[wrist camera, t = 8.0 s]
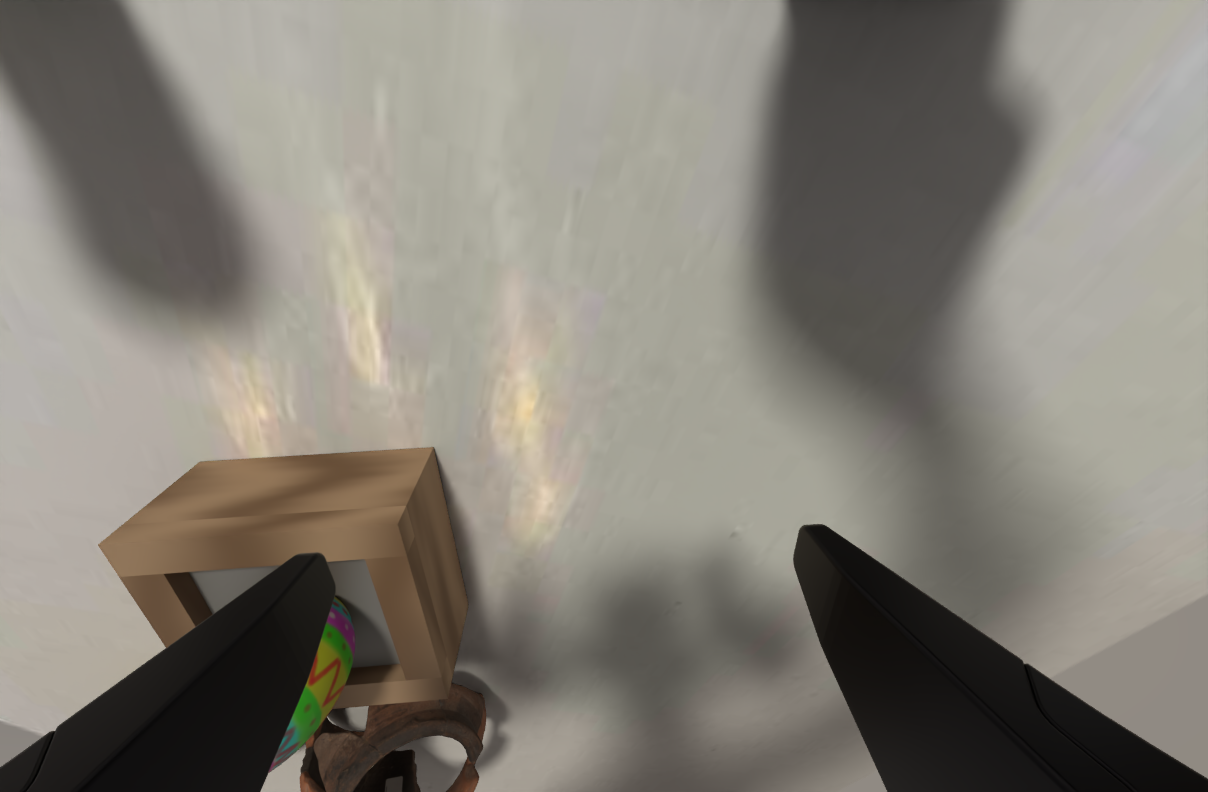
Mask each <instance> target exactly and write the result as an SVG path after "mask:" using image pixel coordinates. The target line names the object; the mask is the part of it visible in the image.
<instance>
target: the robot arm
mask: <svg viewBox="0 0 1208 792" xmlns="http://www.w3.org/2000/svg"><path fill="white" fill-rule="evenodd" d="M793 562H794V568H795V571H796V574H797V577H798V580H799V583H800V586H801V589H802V592H803V595H804V598H805V601H806V603H807V606H808V609H809V612H810V615H811V618H812V621H813V624H814V627H815V630H816V633H817V636H818V638H819V641H820V644H821V647H822V649H823V651H824V654H825V656H826V658H827V660H828V663H829V665H830V667H831V669H832V671H833V674H834V676H835V678H836V680H837V682H838V685H839V687H840V689H841V691H842V693H843V696H844V698H845V700H846V702H847V704H848V706H849V709H850V711H851V713H852V715H853V717H854V720H855V722H856V724H857V726H858V728H859V731H860V733H861V735H862V737H863V739H864V741H865V744H866V746H867V748H868V750H869V752H870V755H871V757H872V759H873V761H874V763H875V766H876V768H877V770H878V772H879V774H880V776H881V778H882V781H883V783H884V785H885V787H886V790H887V792H1208V779H1207V778H1206V777H1204V776H1202V775H1201V774H1199V773H1197V772H1196V771H1194V770H1193V769H1191V768H1189V767H1187V766H1186V765H1184V764H1183V763H1181V762H1179V761H1178V760H1176V759H1174V758H1173V757H1171V756H1169V755H1168V754H1166V753H1165V752H1163V751H1161V750H1160V749H1158V748H1156V747H1155V746H1153V745H1151V744H1150V743H1148V742H1147V741H1145V740H1143V739H1142V738H1140V737H1139V736H1137V735H1136V734H1134V733H1133V732H1131V731H1129V730H1128V729H1126V728H1125V727H1123V726H1121V725H1120V724H1118V723H1117V722H1115V721H1113V720H1112V719H1110V718H1108V717H1107V716H1105V715H1104V714H1102V713H1101V712H1099V711H1098V710H1096V709H1095V708H1093V707H1092V706H1090V705H1088V704H1087V703H1086V702H1084V701H1083V700H1081V699H1080V698H1078V697H1077V696H1075V695H1073V694H1072V693H1070V692H1069V691H1067V690H1066V689H1064V688H1063V687H1061V686H1060V685H1058V684H1057V683H1055V682H1054V681H1052V680H1051V679H1050V678H1048V677H1047V676H1045V675H1044V674H1042V673H1041V672H1039V671H1038V670H1036V669H1035V668H1033V667H1032V666H1031V665H1029V664H1024V663H1023V661H1022V660H1021V659H1020V658H1019V657H1017V656H1016V655H1014V654H1013V653H1011V652H1010V651H1008V650H1007V649H1005V648H1004V647H1003V646H1001V645H1000V644H998V643H997V642H995V641H994V640H992V639H991V638H989V637H988V636H986V635H985V634H984V633H982V632H981V631H979V630H978V629H976V628H975V627H973V626H972V625H970V624H969V623H967V622H966V621H965V620H963V619H962V618H960V617H959V616H957V615H956V614H954V613H953V612H951V611H950V610H948V609H947V608H946V607H944V606H943V605H941V604H940V603H938V602H937V601H935V600H934V599H932V598H931V597H929V596H928V595H927V594H925V593H924V592H922V591H921V590H919V589H918V588H916V587H915V586H913V585H912V584H910V583H909V582H908V581H906V580H905V579H903V578H902V577H900V576H899V575H897V574H896V573H894V572H893V571H891V570H890V569H889V568H887V567H886V566H884V565H883V564H881V563H880V562H878V561H877V560H875V559H874V558H872V557H871V556H869V555H868V554H867V553H865V552H864V551H862V550H861V549H859V548H858V547H856V546H855V545H853V544H852V543H850V542H849V541H848V540H846V539H845V538H843V537H842V536H840V535H839V534H837V533H836V532H834V531H833V530H831V529H830V528H829V527H827V526H825V525H823V524H813V525H803V526H802V527H801V528H800V530H799V533H798V538H797V542H796V547H795V551H794V556H793ZM335 593H336V584H335V581H334V578H333V576H332V573H331V571H330V568H329V566H328V563H327V561H326V558H325V556H324V555H323V554H322V553H319V552H313V553H300V554H297V555H295V556H293V557H292V558H290V559H289V560H287V561H286V562H285V563H283V564H282V565H280V566H279V567H278V568H276V569H275V570H274V571H272V572H271V573H269V574H268V575H267V576H265V577H264V578H262V579H261V580H260V581H258V582H257V583H256V584H254V585H253V586H251V587H250V588H249V589H247V590H246V591H244V592H243V593H242V594H240V595H239V596H238V597H236V598H235V599H233V600H232V601H231V602H229V603H228V604H226V605H225V606H224V607H222V608H221V609H220V610H218V611H217V612H215V613H214V614H213V615H211V616H210V617H208V618H207V619H206V620H204V621H203V622H202V623H200V624H199V625H197V626H196V627H195V628H193V629H192V630H190V631H189V632H188V633H186V634H185V635H184V636H182V637H181V638H179V639H178V640H177V641H175V642H174V643H172V644H171V645H170V646H168V647H167V648H165V649H164V650H163V651H161V652H160V653H159V654H157V655H156V656H154V657H153V658H152V659H150V660H149V661H147V662H146V663H145V664H143V665H142V666H141V667H139V668H138V669H136V670H135V671H134V672H132V673H131V674H129V675H128V676H127V677H125V678H124V679H123V680H121V681H120V682H118V683H117V684H116V685H114V686H113V687H111V688H110V689H109V690H107V691H106V692H104V693H103V694H102V695H100V696H99V697H98V698H96V699H95V700H93V701H92V702H91V703H89V704H88V705H86V706H85V707H84V708H82V709H81V710H80V711H78V712H77V713H75V714H74V715H73V716H71V717H70V718H68V719H67V720H66V721H64V722H63V723H61V724H60V725H59V726H58V727H57V728H56V731H51V732H49V733H47V734H46V735H45V736H43V737H42V738H41V739H39V740H38V741H36V742H35V743H34V744H32V745H31V746H29V747H28V748H27V749H25V750H24V751H23V752H21V753H20V754H18V755H17V756H16V757H14V758H13V759H11V760H10V761H9V762H7V763H6V764H4V765H3V766H1V767H0V792H260V791H261V789H262V786H263V784H264V782H265V779H266V777H267V775H268V772H269V770H270V768H271V766H272V763H273V761H274V759H275V756H276V754H277V752H278V749H279V747H280V745H281V742H282V740H283V738H284V735H285V733H286V731H287V728H288V726H289V724H290V721H291V719H292V717H293V714H294V712H295V710H296V707H297V705H298V703H299V700H300V698H301V696H302V693H303V691H304V688H305V686H306V683H307V681H308V678H309V675H310V672H311V670H312V667H313V664H314V661H315V657H316V654H317V651H318V648H319V645H320V642H321V638H322V635H323V632H324V629H325V626H326V623H327V620H328V616H329V613H330V610H331V607H332V604H333V601H334V597H335Z"/></svg>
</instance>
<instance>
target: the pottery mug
mask: <svg viewBox="0 0 1208 792" xmlns="http://www.w3.org/2000/svg"><path fill="white" fill-rule="evenodd" d="M485 725H486V709H485V700H484V697H483V695H482V694H477V693H476V692H474V691H472V690H469V689H468V688H466V687H463V686H461V685H456V684H453V683H451V686H450V691H449V695H448V699H439V700H428V701H417V702H405V703H394V704H383V705H371V706H369V709H368V718H367V724H366V729H365V732H356V731H348V730H345V729H343V728H340V727H339V726H337V725H334V724H332V723H331V722H330V721H329V720H328V718H327V717H326V718H325V720H324V721H323V722H322V724H321V725H320V726H319V728H318V729H317V730H316V731H315V732H314V734H313V735H312V736H311V737H310V738H309V739H308V740H307V741H306V751H305V753H306V755H305V757H304V759H303V765H302V767H301V776H300V788H301V792H421V791H420V788H419V786H418V784H417V777H416V768H417V766H416V764H415V752H414V751H413V750H405V751H394V750H395V749H397V748H398V747H400V746H402V745H404V744H406V743H409V742H411V741H413V740H416V739H419V738H423V737H428V736H441V735H442V736H445V737H450V738H453V739H455V740H457V741H458V742H460V743H461V744H462V745H463V746H464V748H465V749H466V753H467V756H468V757H467V760H466V762H465V764H464V767H463V769H462V771H461V773H460V774H459V776H458V777H457V779H456V780H455V782H454V783H453V785H452V786H451V787H450V788H449V789H448V790H447V791H446V792H474V790H475V788H476V786H477V783H478V780H479V775H478V773H477V771H476V769H475V766H474V764H475V762H476V760H477V758H478V757H479V755H480V753H481V751H482V750H483V744H482V740H483V735H484V731H485ZM373 765H374V766H373ZM372 766H373V767H372ZM371 767H372V768H371ZM370 768H371V769H370ZM369 769H370V770H369Z"/></svg>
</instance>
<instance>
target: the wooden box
mask: <svg viewBox="0 0 1208 792" xmlns="http://www.w3.org/2000/svg"><path fill="white" fill-rule="evenodd" d="M98 546H99V547H100V549H101V550H102V552H103V553H104V555H105V556H106V558H107V559H108V561H109V562H110V564H111V565H112V567H113V568H114V570H115V571H116V573H117V574H118V576H119V577H120V579H121V581H122V582H123V584H124V585H125V587H126V588H127V590H128V591H129V593H130V594H131V596H132V597H133V599H134V600H135V602H136V603H137V605H138V606H139V608H140V609H141V611H142V612H143V614H144V615H145V617H146V618H147V620H148V621H149V623H150V624H151V626H152V627H153V629H154V630H155V632H156V633H157V635H158V636H159V638H160V639H161V641H162V642H163V644H164V645H165V647H166V648H167V647H168V646H170V645H171V644H172V643H174V642H175V641H177V640H178V639H179V638H181V637H182V636H184V635H185V634H186V633H188V632H189V631H190V630H192V629H193V628H195V627H196V626H197V625H199V624H200V623H202V622H203V621H204V620H206V619H207V618H208V617H210V616H211V615H213V614H214V613H215V612H217V611H218V610H220V609H221V608H222V607H224V606H225V605H226V604H228V603H229V602H231V601H232V600H233V599H235V598H236V597H238V596H239V595H240V594H242V593H243V592H244V591H246V590H247V589H249V588H250V587H251V586H253V585H254V584H256V583H257V582H258V581H260V580H261V579H262V578H264V577H265V576H267V575H268V574H269V573H271V572H272V571H274V570H275V569H276V568H278V567H279V566H280V565H282V564H283V563H285V562H286V561H287V560H289V559H290V558H292V557H293V556H295V555H297V554H300V553H313V552H319V553H322V554H323V555H324V556H325V558H326V561H327V563H328V566H329V568H330V571H331V573H332V576H333V578H334V581H335V584H336V593H335V597H336V598H337V599H339V600H340V601H341V602H342V603H343V604H344V605H345V607H346V608H347V610H348V612H349V614H350V616H351V619H352V622H353V625H354V631H355V652H354V659H353V663H352V667H351V670H350V673H349V676H348V679H347V681H346V684H345V686H344V688H343V690H342V692H341V694H340V696H339V698H338V700H337V701H336V703H335V705H334V706H333V708H332V709H337V708H349V707H360V706H371V705H383V704H394V703H405V702H417V701H428V700H439V699H448V695H449V691H450V686H451V682H452V677H453V673H454V668H455V664H456V659H457V655H458V650H459V646H460V641H461V637H462V632H463V628H464V623H465V619H466V614H467V610H468V605H469V604H468V600H467V595H466V591H465V586H464V582H463V577H462V573H461V568H460V564H459V559H458V555H457V550H456V546H455V541H454V537H453V533H452V528H451V524H450V519H449V515H448V510H447V506H446V501H445V497H444V492H443V488H442V483H441V479H440V474H439V470H438V465H437V461H436V456H435V452H434V447H431V448H415V449H399V450H382V451H366V452H350V453H334V454H318V455H302V456H286V457H269V458H253V459H237V460H221V461H205V462H199V463H198V464H196V465H195V466H194V467H193V468H192V469H190V470H189V471H188V472H187V473H185V474H184V475H183V476H182V477H181V478H179V479H178V480H177V481H176V482H174V483H173V484H172V485H171V486H170V487H168V488H167V489H166V490H165V491H163V492H162V493H161V494H160V495H158V496H157V497H156V498H155V499H154V500H152V501H151V502H150V503H149V504H147V505H146V506H145V507H144V508H143V509H141V510H140V511H139V512H138V513H136V514H135V515H134V516H133V517H132V518H130V519H129V520H128V521H127V522H125V523H124V524H123V525H122V526H121V527H119V528H118V529H117V530H116V531H114V532H113V533H112V534H111V535H109V536H108V537H107V538H106V539H105V540H103V541H102V542H101V543H100V544H98Z"/></svg>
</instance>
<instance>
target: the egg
mask: <svg viewBox="0 0 1208 792" xmlns="http://www.w3.org/2000/svg"><path fill="white" fill-rule="evenodd" d="M354 652H355V631H354V625H353V622H352V619H351V616H350V614H349V612H348V610H347V608H346V607H345V605H344V604H343V603H342V602H341V601H340V600H339V599H337V598H336V597H334V601H333V604H332V607H331V610H330V613H329V616H328V620H327V623H326V626H325V629H324V632H323V635H322V638H321V642H320V645H319V648H318V651H317V654H316V657H315V661H314V664H313V667H312V670H311V672H310V675H309V678H308V681H307V683H306V686H305V688H304V691H303V693H302V696H301V698H300V700H299V703H298V705H297V707H296V710H295V712H294V714H293V717H292V719H291V721H290V724H289V726H288V728H287V731H286V733H285V735H284V738H283V740H282V742H281V745H280V747H279V749H278V752H277V754H276V756H275V759H274V761H273V763H272V766H271V768H270V770H269V772H271V771H272V770H274V769H275V768H276V767H278V766H279V765H281V764H282V763H283V762H284V761H286V760H287V759H288V758H289V757H290V756H292V755H293V754H294V753H295V752H296V751H297V750H298V749H299V748H300V747H301V746H302V745H303V744H304V743H305V742H306V741H307V740H308V739H309V738H310V737H311V736H312V735H313V734H314V732H315V731H316V730H317V729H318V728H319V726H320V725H321V724H322V722H323V721H324V720H325V718H326V717H327V716H328V714H329V713H330V711H331V710H332V708H333V706H334V705H335V703H336V701H337V700H338V698H339V696H340V694H341V692H342V690H343V688H344V686H345V684H346V681H347V679H348V676H349V673H350V670H351V667H352V663H353V659H354ZM269 772H268V773H269Z"/></svg>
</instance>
